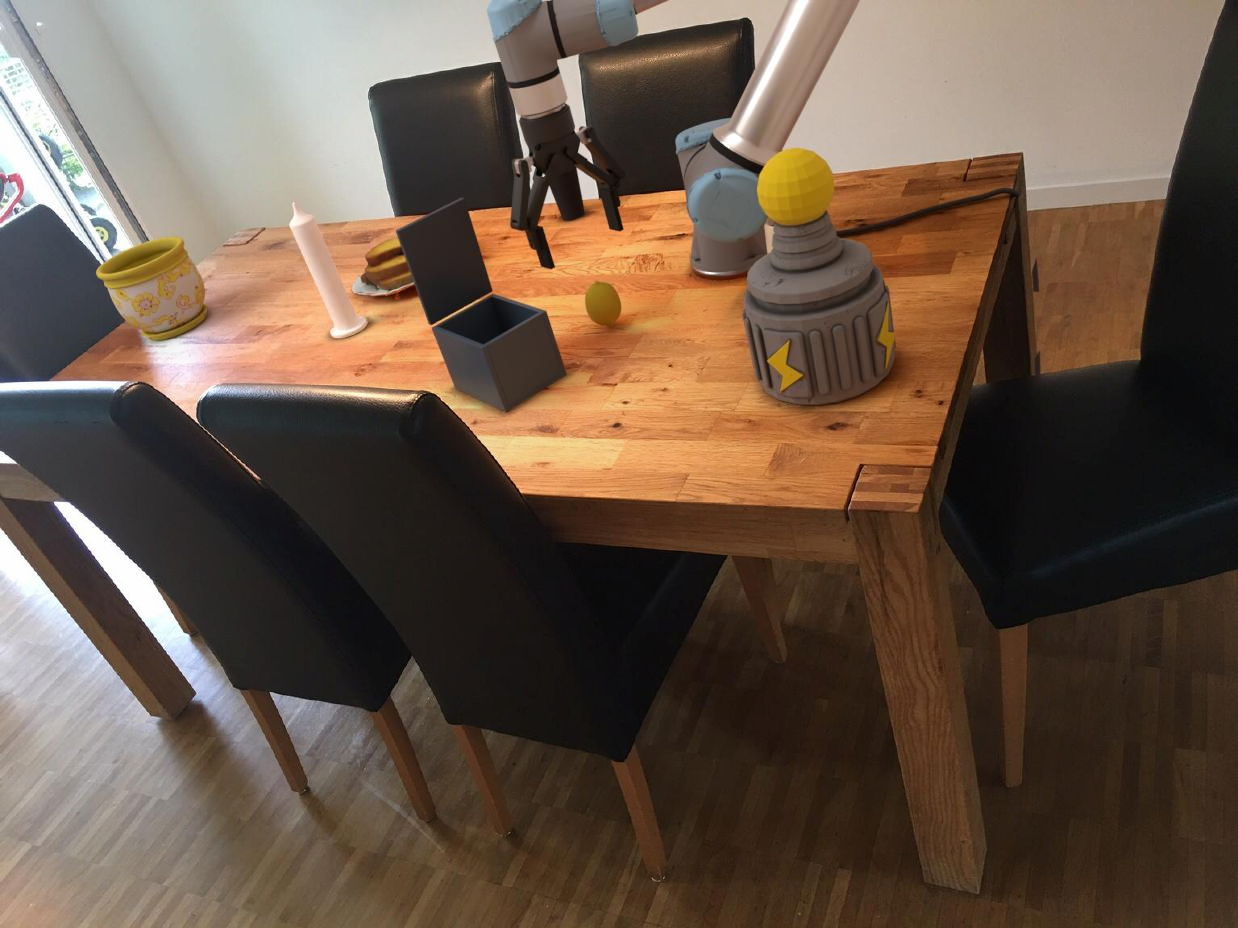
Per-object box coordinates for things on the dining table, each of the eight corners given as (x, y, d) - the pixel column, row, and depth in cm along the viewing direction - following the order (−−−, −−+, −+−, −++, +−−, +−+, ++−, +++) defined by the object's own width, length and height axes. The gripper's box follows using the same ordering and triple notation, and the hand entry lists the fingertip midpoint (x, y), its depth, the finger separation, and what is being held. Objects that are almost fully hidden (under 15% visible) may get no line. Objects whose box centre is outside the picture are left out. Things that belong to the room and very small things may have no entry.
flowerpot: (199, 300, 228) (163, 232, 219) (232, 312, 215) (195, 240, 206) (124, 338, 219) (83, 269, 210) (153, 354, 206) (112, 280, 198)
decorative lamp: (795, 330, 146) (757, 124, 130) (921, 341, 135) (898, 116, 119) (729, 400, 135) (680, 184, 119) (862, 418, 124) (827, 182, 108)
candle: (374, 318, 192) (320, 192, 178) (355, 337, 186) (297, 208, 173) (344, 321, 195) (289, 196, 181) (324, 339, 189) (265, 213, 176)
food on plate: (413, 308, 191) (399, 277, 187) (330, 301, 206) (316, 272, 202) (498, 247, 206) (488, 217, 202) (416, 245, 221) (404, 216, 217)
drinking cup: (587, 220, 206) (559, 122, 196) (551, 226, 209) (522, 130, 198) (595, 205, 212) (569, 110, 202) (561, 211, 215) (533, 117, 204)
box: (567, 374, 153) (546, 310, 147) (505, 412, 148) (481, 348, 142) (514, 353, 164) (492, 293, 158) (455, 388, 159) (430, 327, 153)
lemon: (592, 324, 166) (578, 279, 161) (625, 315, 165) (612, 270, 161) (593, 339, 161) (579, 293, 157) (627, 329, 160) (614, 284, 156)
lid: (464, 198, 148) (461, 197, 149) (397, 231, 143) (395, 230, 144) (493, 291, 158) (490, 290, 158) (431, 325, 153) (428, 324, 153)
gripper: (594, 78, 153) (629, 211, 164) (457, 141, 142) (504, 279, 154) (625, 79, 147) (658, 217, 159) (485, 145, 137) (532, 287, 148)
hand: (583, 248), depth 156 cm, fingers open, 13 cm apart
